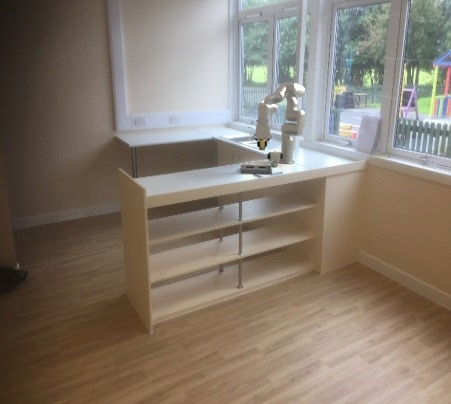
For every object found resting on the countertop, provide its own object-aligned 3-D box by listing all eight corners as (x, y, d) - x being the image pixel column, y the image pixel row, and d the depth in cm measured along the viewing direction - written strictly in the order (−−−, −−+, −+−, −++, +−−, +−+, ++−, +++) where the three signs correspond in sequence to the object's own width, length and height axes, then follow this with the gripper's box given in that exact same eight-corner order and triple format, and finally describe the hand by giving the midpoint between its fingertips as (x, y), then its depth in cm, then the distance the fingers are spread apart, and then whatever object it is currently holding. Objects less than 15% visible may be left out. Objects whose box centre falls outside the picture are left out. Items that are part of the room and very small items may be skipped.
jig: (240, 168, 319) (241, 164, 318) (270, 169, 318) (270, 165, 317) (240, 173, 303) (241, 169, 303) (271, 174, 303) (271, 170, 302)
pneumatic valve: (266, 165, 330) (267, 150, 326) (281, 165, 330) (282, 150, 327) (267, 167, 325) (268, 151, 321) (282, 167, 325) (283, 151, 322)
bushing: (258, 149, 308) (259, 138, 306) (264, 149, 308) (265, 138, 306) (259, 150, 304) (259, 138, 302) (265, 150, 304) (265, 139, 302)
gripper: (251, 122, 297) (250, 147, 302) (275, 122, 297) (274, 148, 302) (251, 120, 304) (250, 146, 310) (274, 121, 304) (273, 146, 310)
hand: (261, 147), depth 306 cm, fingers closed on bushing, 4 cm apart
